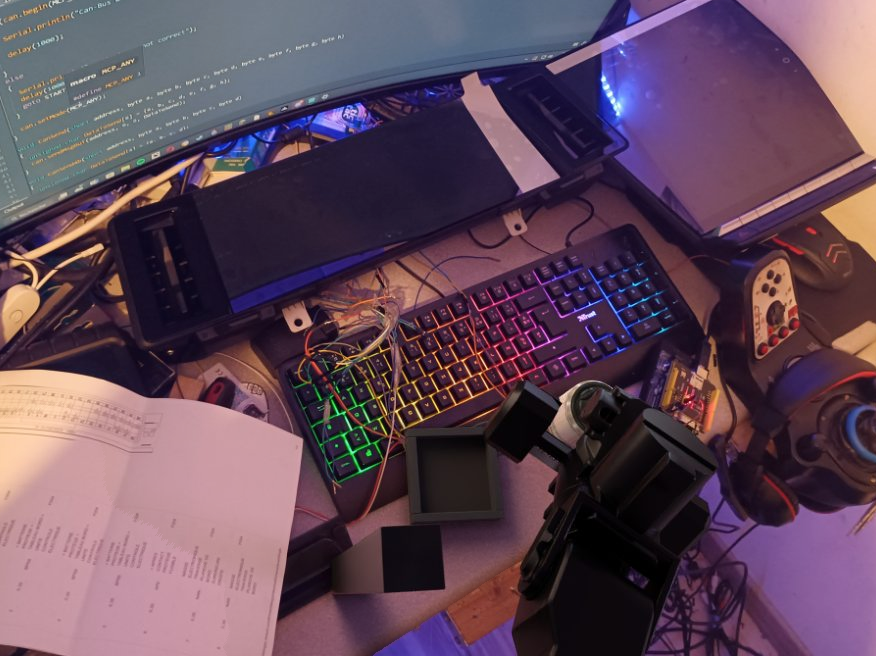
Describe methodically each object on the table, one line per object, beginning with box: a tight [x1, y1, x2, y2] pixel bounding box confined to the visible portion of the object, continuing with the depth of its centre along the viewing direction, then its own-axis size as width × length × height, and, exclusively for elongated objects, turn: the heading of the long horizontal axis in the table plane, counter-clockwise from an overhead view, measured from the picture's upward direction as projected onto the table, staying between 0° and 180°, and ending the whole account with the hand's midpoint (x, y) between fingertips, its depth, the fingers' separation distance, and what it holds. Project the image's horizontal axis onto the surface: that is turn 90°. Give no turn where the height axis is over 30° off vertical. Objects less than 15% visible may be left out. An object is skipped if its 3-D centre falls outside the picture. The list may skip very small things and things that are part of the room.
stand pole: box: [331, 523, 446, 595], centre depth 52 cm, size 3×3×38 cm
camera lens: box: [548, 379, 614, 449], centre depth 75 cm, size 6×6×8 cm
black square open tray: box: [404, 426, 505, 525], centre depth 73 cm, size 9×9×2 cm
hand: (596, 428), depth 68 cm, fingers open, 9 cm apart
